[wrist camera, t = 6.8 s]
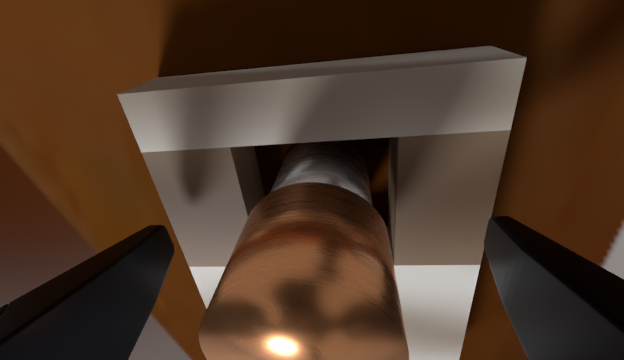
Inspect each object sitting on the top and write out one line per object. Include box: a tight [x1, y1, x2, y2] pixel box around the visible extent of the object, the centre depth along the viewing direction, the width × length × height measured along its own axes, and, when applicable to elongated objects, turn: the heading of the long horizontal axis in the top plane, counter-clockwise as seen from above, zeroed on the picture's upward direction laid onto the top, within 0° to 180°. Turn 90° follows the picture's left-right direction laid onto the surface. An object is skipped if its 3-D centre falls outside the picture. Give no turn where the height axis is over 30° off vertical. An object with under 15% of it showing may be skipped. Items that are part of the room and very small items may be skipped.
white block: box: [117, 46, 527, 360], centre depth 12 cm, size 14×10×2 cm
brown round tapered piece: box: [199, 140, 409, 360], centre depth 8 cm, size 4×4×6 cm
